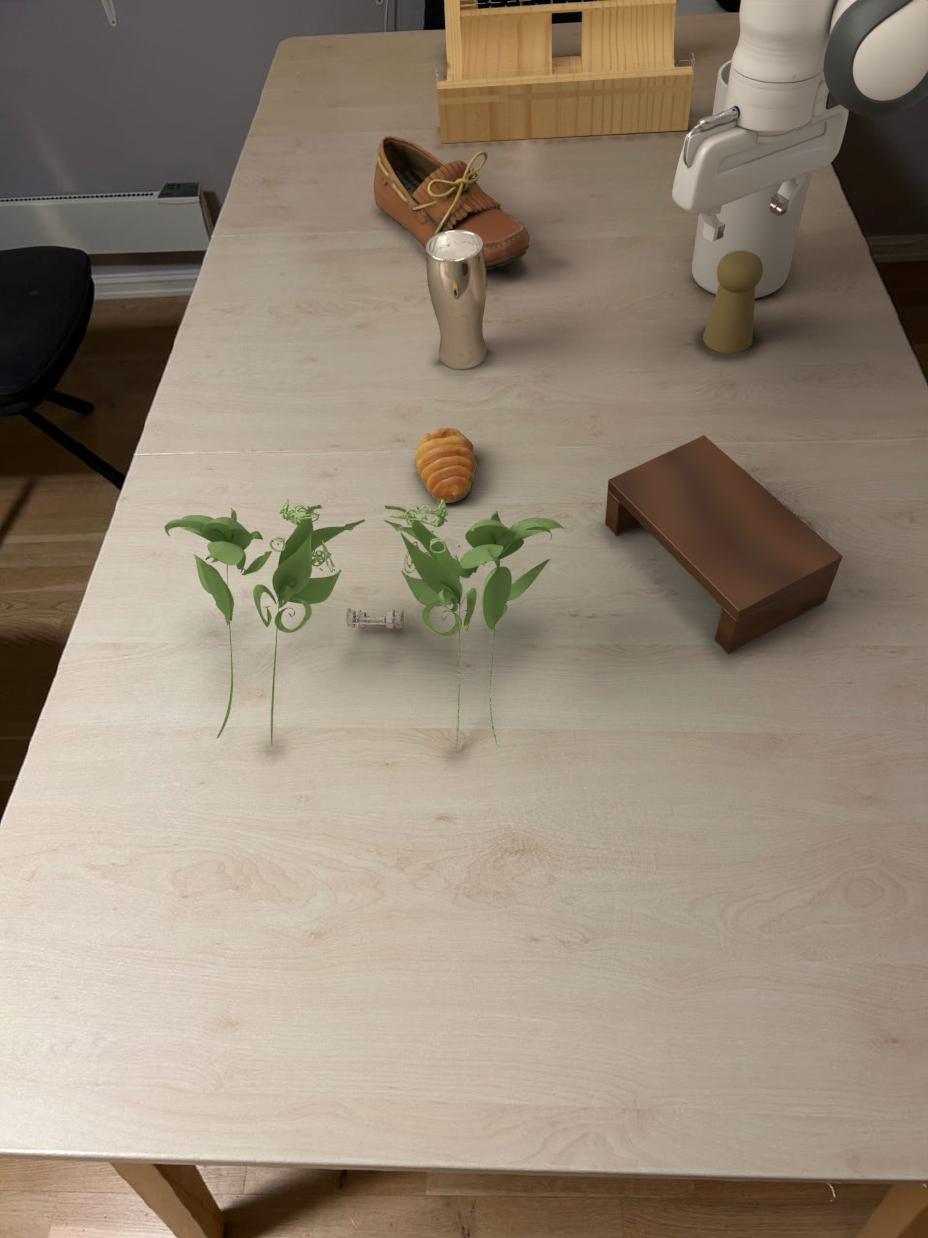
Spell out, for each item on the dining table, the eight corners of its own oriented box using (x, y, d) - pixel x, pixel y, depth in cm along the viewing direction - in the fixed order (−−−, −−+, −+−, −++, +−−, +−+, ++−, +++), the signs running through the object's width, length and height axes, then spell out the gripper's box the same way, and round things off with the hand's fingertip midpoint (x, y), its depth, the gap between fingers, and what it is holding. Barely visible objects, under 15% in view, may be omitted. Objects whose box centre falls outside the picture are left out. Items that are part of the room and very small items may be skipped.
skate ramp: (441, 149, 154) (431, 43, 141) (450, 53, 175) (442, -47, 162) (686, 136, 151) (700, 27, 138) (666, 40, 172) (675, -63, 159)
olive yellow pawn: (759, 331, 117) (776, 249, 108) (742, 358, 114) (758, 276, 105) (713, 319, 119) (726, 238, 110) (695, 345, 116) (707, 264, 107)
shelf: (696, 480, 101) (704, 434, 96) (826, 600, 90) (843, 556, 85) (604, 524, 98) (608, 479, 93) (727, 654, 87) (739, 611, 82)
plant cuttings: (559, 745, 90) (563, 515, 90) (560, 771, 73) (565, 488, 73) (209, 733, 94) (214, 512, 94) (132, 756, 77) (139, 486, 77)
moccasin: (540, 277, 128) (540, 190, 118) (458, 305, 125) (452, 219, 115) (443, 182, 146) (436, 100, 136) (369, 204, 143) (357, 122, 133)
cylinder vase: (683, 296, 123) (710, 95, 103) (698, 245, 130) (725, 48, 110) (782, 307, 120) (828, 102, 100) (791, 254, 127) (836, 54, 107)
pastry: (484, 502, 102) (482, 476, 99) (423, 512, 101) (419, 486, 98) (471, 445, 107) (468, 419, 104) (413, 454, 107) (409, 429, 104)
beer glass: (459, 379, 115) (449, 268, 103) (424, 354, 119) (411, 244, 107) (502, 354, 118) (497, 244, 106) (466, 331, 121) (458, 221, 109)
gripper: (708, 135, 89) (689, 267, 100) (869, 79, 95) (834, 209, 106) (668, 111, 93) (653, 241, 104) (825, 58, 98) (796, 186, 109)
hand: (746, 224), depth 105 cm, fingers open, 8 cm apart
